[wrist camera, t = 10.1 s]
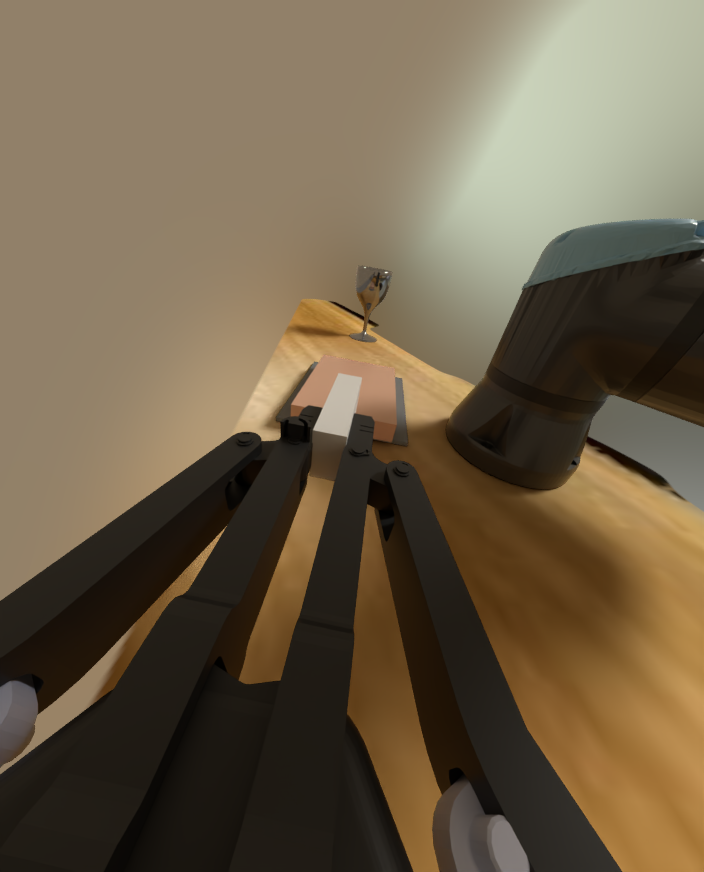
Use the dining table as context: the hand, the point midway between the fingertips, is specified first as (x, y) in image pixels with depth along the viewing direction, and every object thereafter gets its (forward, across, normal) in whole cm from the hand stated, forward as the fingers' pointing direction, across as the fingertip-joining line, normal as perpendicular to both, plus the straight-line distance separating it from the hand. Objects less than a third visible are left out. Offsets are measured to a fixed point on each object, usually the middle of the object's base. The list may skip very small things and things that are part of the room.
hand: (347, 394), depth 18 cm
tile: (+10, -1, -9) cm, 13 cm away
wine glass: (+55, -2, -11) cm, 56 cm away
